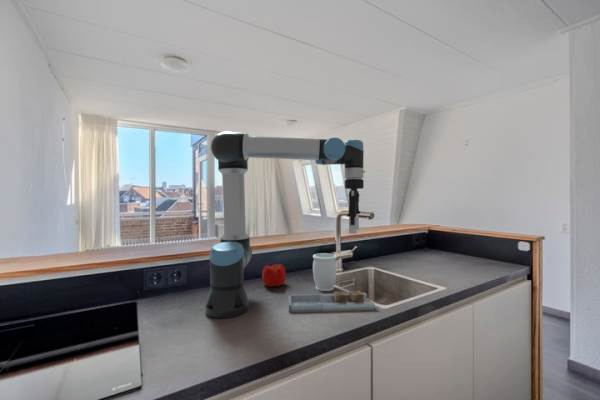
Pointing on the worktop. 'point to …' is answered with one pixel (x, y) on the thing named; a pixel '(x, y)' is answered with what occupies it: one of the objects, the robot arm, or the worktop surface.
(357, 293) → the brown wooden cube
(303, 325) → the worktop surface
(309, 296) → the slot rail
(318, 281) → the jar
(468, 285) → the worktop surface
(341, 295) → the chip
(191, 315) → the worktop surface
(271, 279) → the tomato
